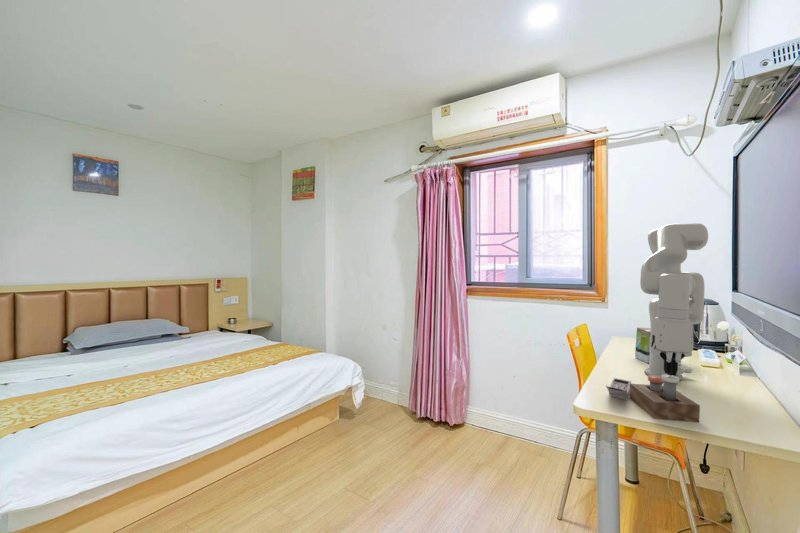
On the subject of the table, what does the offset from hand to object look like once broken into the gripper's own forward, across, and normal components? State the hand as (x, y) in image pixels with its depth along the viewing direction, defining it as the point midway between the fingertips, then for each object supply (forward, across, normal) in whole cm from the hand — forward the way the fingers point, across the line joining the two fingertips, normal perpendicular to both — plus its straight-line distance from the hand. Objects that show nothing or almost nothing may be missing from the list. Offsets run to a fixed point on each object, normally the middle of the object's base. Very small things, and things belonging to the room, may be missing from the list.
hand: (670, 374), depth 112 cm
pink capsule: (+11, 0, -8) cm, 14 cm away
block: (+12, 0, -4) cm, 13 cm away
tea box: (+12, -28, -64) cm, 71 cm away
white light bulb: (+8, 0, 0) cm, 8 cm away
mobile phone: (+13, +8, -16) cm, 22 cm away
